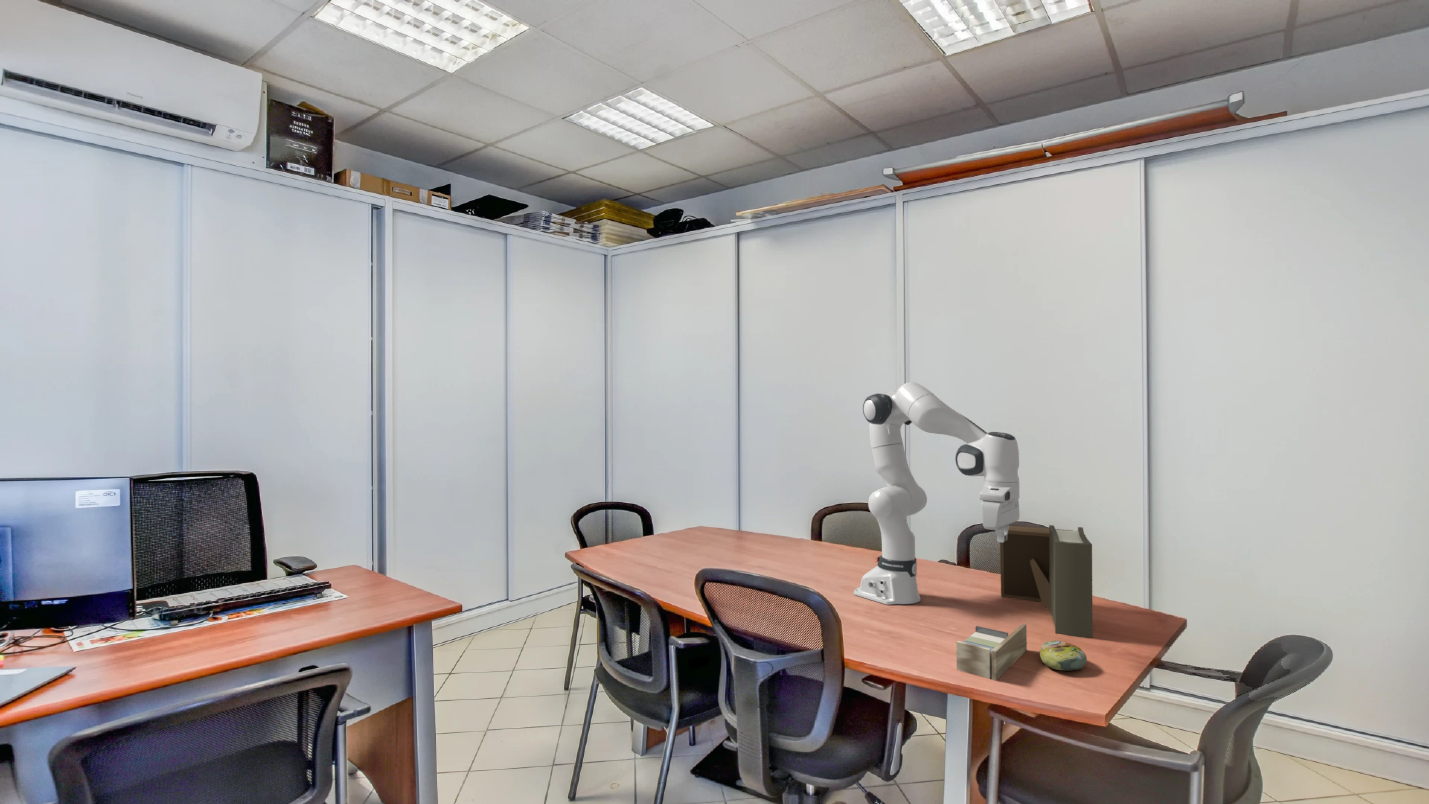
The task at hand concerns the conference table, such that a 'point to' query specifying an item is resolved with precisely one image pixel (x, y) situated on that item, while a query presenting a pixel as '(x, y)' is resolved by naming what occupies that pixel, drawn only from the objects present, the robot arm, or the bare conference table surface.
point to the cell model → (1062, 655)
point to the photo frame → (1026, 565)
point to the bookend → (991, 632)
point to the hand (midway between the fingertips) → (1002, 541)
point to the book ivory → (987, 637)
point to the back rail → (1002, 655)
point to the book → (1071, 582)
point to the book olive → (982, 642)
